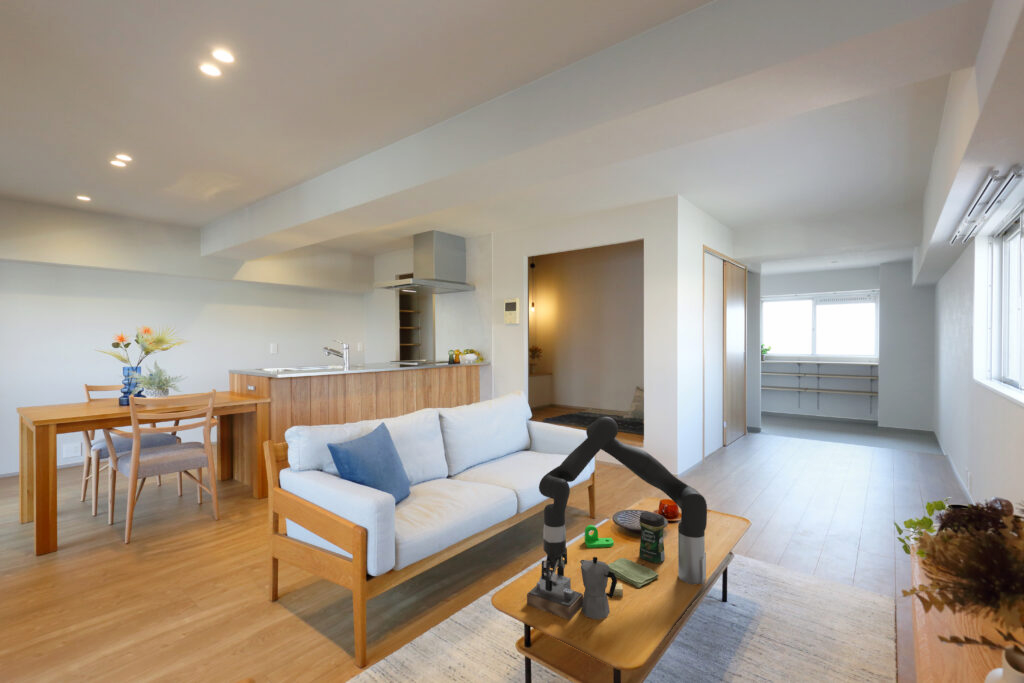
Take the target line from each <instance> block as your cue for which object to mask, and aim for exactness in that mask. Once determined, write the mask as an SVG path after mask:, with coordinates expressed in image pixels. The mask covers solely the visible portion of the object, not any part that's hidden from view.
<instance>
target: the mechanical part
mask: <svg viewBox="0 0 1024 683" xmlns="http://www.w3.org/2000/svg"><path fill="white" fill-rule="evenodd" d="M591 531H593V533H592V534H590V532H591ZM598 531H599V530H598V529H597V527H596V526H595V525H593V524H589V525H587V526H586V527H585V529H584V544H585V545H586V547H587V548H588V549H597V548H598V547H599V548H610V547H611V548H612V547H613V546H614V544H615V543H614V539H613V538H612V537H599V532H598ZM599 548H598V549H599Z"/></svg>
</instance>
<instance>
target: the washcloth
mask: <svg viewBox="0 0 1024 683" xmlns="http://www.w3.org/2000/svg"><path fill="white" fill-rule="evenodd" d="M606 564H607V565H608V566H609V567H610V568H609V571H610V572H613V573H614V574H615V576H616V578H617V579H619V580H620V581H621V580H622V581H623V582H625V583H627V584H629V585H632V586H633V587H636V588H638V589H640V588H641V587H644V585H646V584H649V583H651V582H653V581H654V580H655V579H657V578H659V574H658V573H657V572H656V571H654V569H651V568H650V567H647V566H645V565H642V564H639V563H636V562H634V561H632V560H630V559H627V558H625V557H621V558H618V559H616V560H614V561H613V562H610V563H606Z"/></svg>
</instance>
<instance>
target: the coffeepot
mask: <svg viewBox="0 0 1024 683" xmlns="http://www.w3.org/2000/svg"><path fill="white" fill-rule="evenodd" d="M579 563H580V564H581V565H580V571H581V572H580V573H581V578H582V583H583V586H584V592H583V602H582V607H581V608H580V611H581V613H582V614H583V615H584V616H585V617H586V618H590V619H593V620H602V619H605V618H608V616H609V614H610V612H611V611H610V606H609V598H611V599H612V598H613V597H614V596H613V594H614V590H615V587H616V584H617V583H618V578H617V577H616V576H615V574H614V573H613V572H610V571H609V568H610V567H609V566H608V565H607V564H608V563H606V562H605V561H601V560H598V557H597V556H593V557H592V559H590V560H589V559H581V560H580V561H579ZM609 578H610V579H611V582H610V583H611V588H610V587H609V593H608V592H606V589H607V588H608V581H609Z"/></svg>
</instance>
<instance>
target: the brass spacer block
mask: <svg viewBox="0 0 1024 683" xmlns="http://www.w3.org/2000/svg"><path fill="white" fill-rule="evenodd" d="M611 583H612V582H610V587H609V589H610V588H611ZM613 597H619V598H623V597H624V588H623V583H622V582H621V583H619V582H617V584H616V587H615V590H614V594H613Z"/></svg>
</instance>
